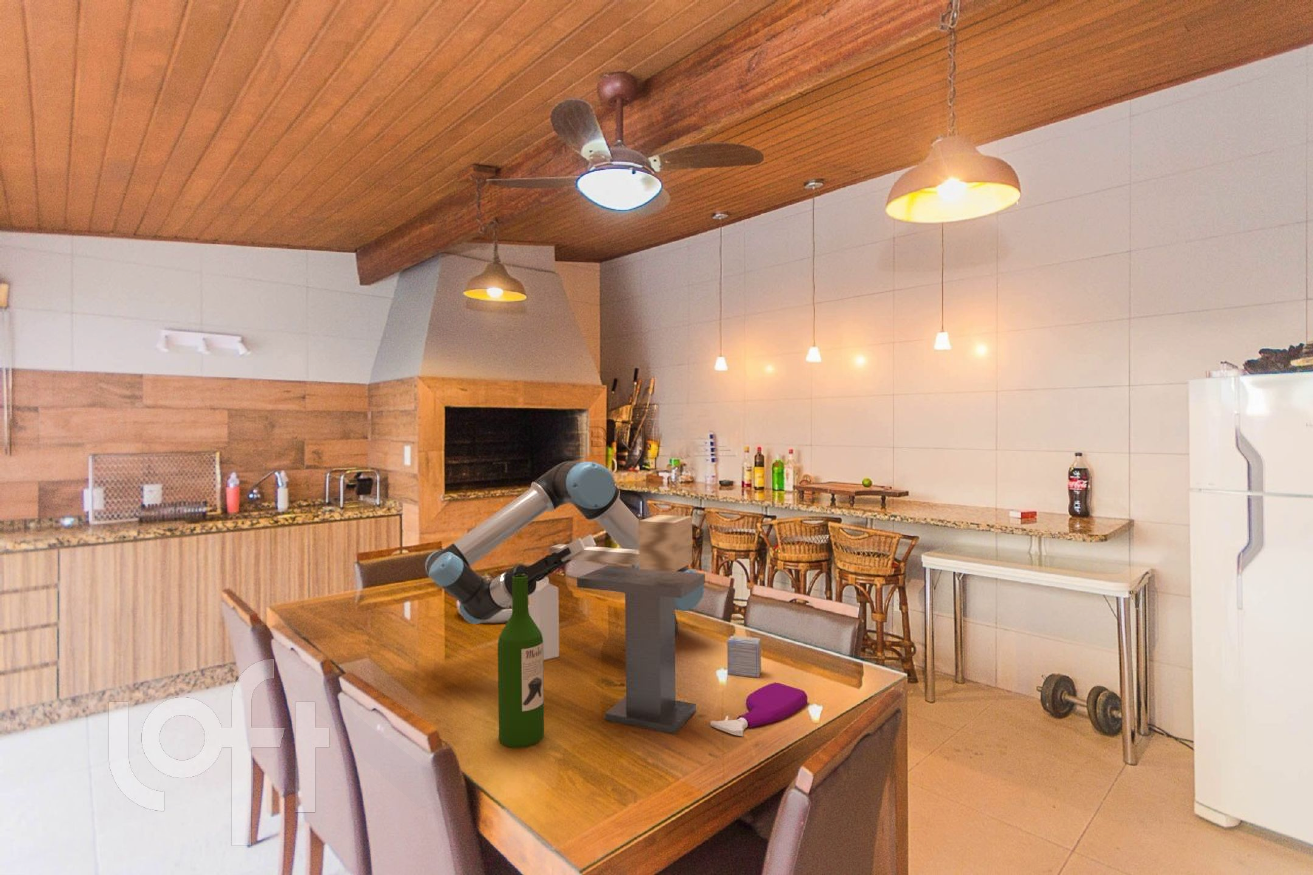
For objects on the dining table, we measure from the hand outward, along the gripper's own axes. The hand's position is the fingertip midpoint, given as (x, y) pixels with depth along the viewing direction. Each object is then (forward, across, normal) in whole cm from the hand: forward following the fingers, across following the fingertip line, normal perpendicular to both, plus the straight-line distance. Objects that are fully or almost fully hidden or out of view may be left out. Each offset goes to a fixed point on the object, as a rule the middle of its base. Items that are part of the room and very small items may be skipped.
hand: (587, 541), depth 146 cm
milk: (-42, -22, -18) cm, 51 cm away
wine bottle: (-22, +19, -30) cm, 42 cm away
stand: (-7, 0, -38) cm, 39 cm away
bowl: (-75, -53, 0) cm, 92 cm away
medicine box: (+5, -31, -46) cm, 55 cm away
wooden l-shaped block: (+4, 0, -7) cm, 8 cm away
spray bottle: (+13, -10, -51) cm, 53 cm away
